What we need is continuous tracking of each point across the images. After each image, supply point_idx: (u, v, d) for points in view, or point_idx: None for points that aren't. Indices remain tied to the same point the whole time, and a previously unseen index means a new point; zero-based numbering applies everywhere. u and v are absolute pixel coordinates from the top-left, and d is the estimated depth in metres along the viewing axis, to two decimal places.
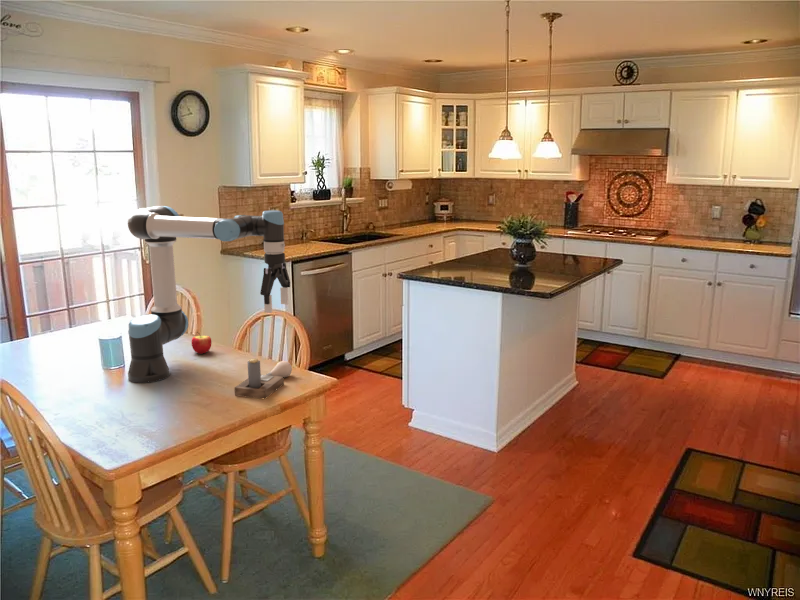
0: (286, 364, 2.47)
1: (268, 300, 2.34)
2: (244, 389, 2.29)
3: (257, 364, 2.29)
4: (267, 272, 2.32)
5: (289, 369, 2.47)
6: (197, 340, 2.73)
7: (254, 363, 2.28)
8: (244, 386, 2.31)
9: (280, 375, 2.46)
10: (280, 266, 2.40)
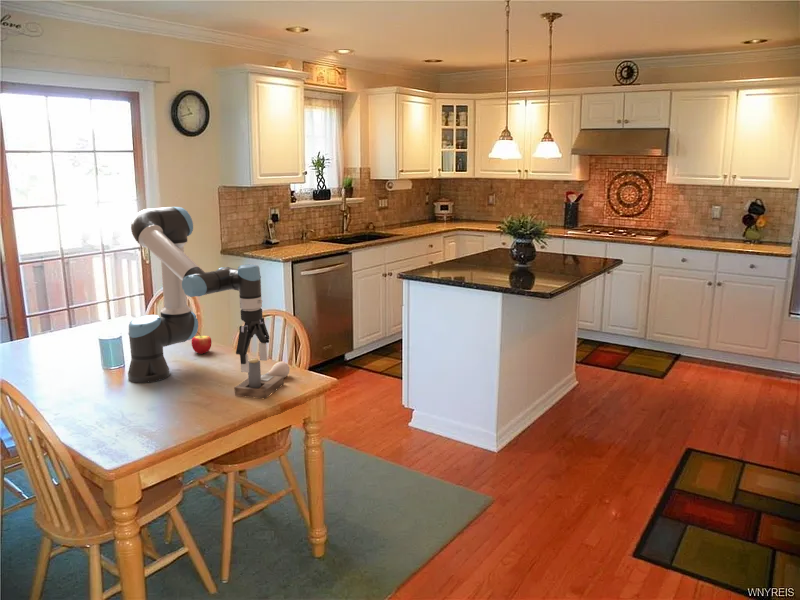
0: (284, 365, 2.47)
1: (244, 360, 2.22)
2: (244, 389, 2.29)
3: (257, 364, 2.29)
4: (243, 330, 2.20)
5: (287, 370, 2.47)
6: (197, 340, 2.73)
7: (254, 363, 2.28)
8: (244, 386, 2.31)
9: None
10: (258, 322, 2.29)
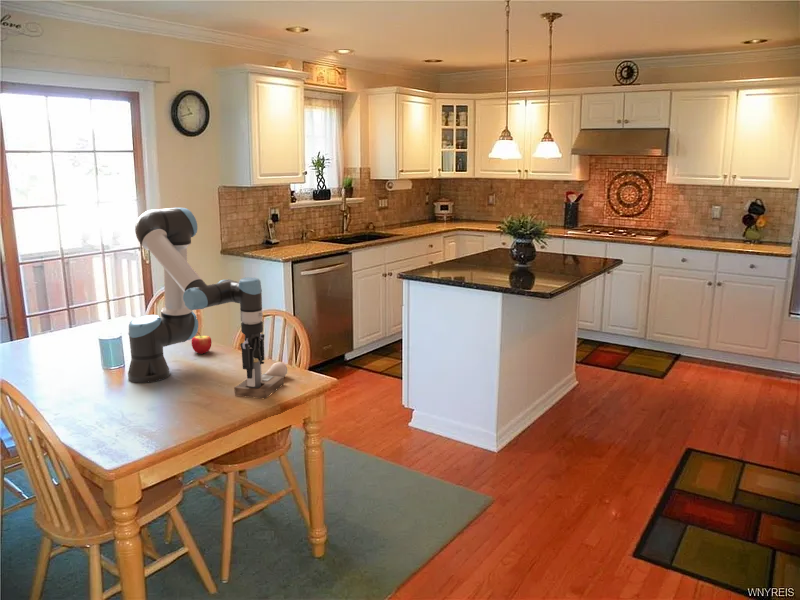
0: (281, 365, 2.46)
1: (251, 374, 2.28)
2: (244, 389, 2.29)
3: (257, 364, 2.29)
4: (245, 348, 2.23)
5: (284, 370, 2.46)
6: (197, 340, 2.73)
7: (254, 363, 2.28)
8: (244, 386, 2.31)
9: None
10: (258, 335, 2.30)
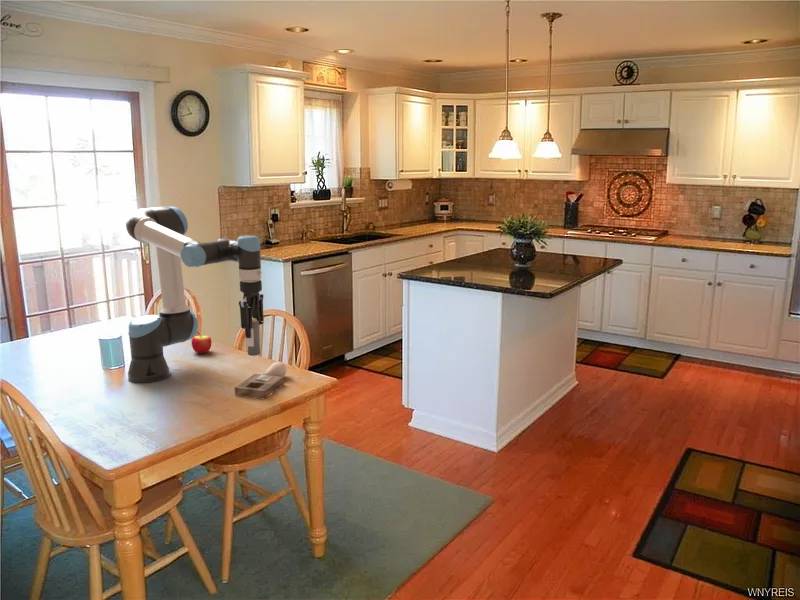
0: (280, 365, 2.46)
1: (249, 334, 2.25)
2: (244, 389, 2.29)
3: (256, 323, 2.26)
4: (243, 306, 2.20)
5: (283, 370, 2.46)
6: (197, 340, 2.73)
7: (253, 322, 2.25)
8: (244, 386, 2.31)
9: None
10: (257, 294, 2.27)
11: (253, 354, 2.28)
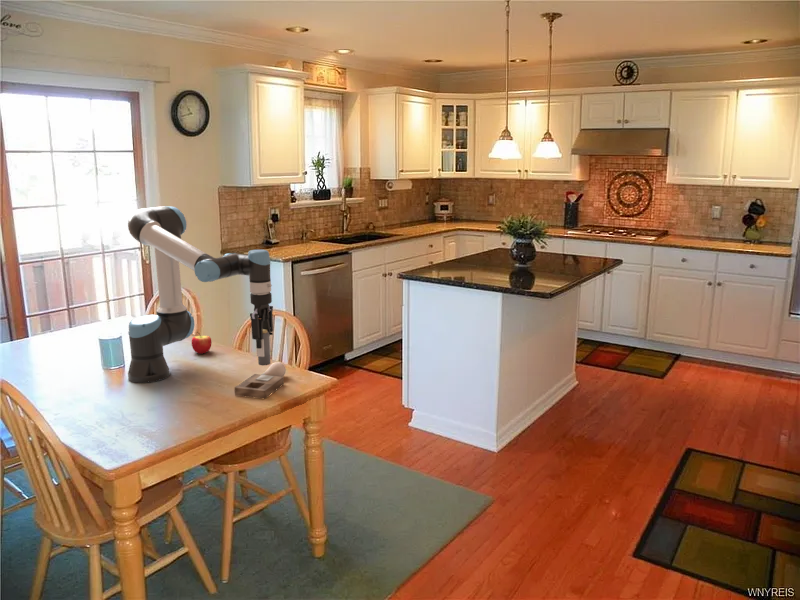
0: (280, 365, 2.46)
1: (260, 344, 2.32)
2: (244, 389, 2.29)
3: (266, 334, 2.34)
4: (254, 318, 2.28)
5: (283, 370, 2.46)
6: (197, 340, 2.73)
7: (263, 333, 2.33)
8: (244, 386, 2.31)
9: None
10: (267, 306, 2.35)
11: (264, 364, 2.36)
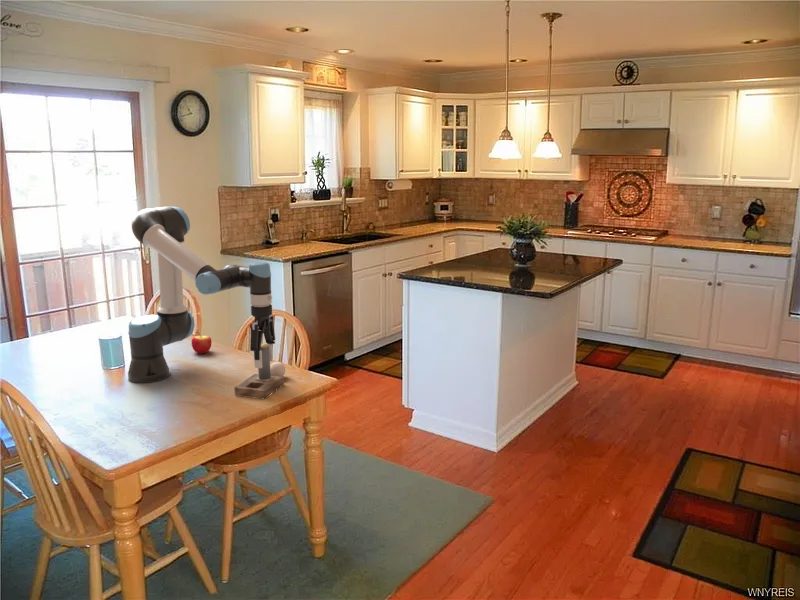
0: (279, 365, 2.46)
1: (258, 356, 2.32)
2: (244, 389, 2.29)
3: (266, 349, 2.35)
4: (254, 328, 2.28)
5: (282, 370, 2.46)
6: (197, 340, 2.73)
7: (263, 348, 2.35)
8: (244, 386, 2.31)
9: None
10: (267, 318, 2.36)
11: (264, 378, 2.37)
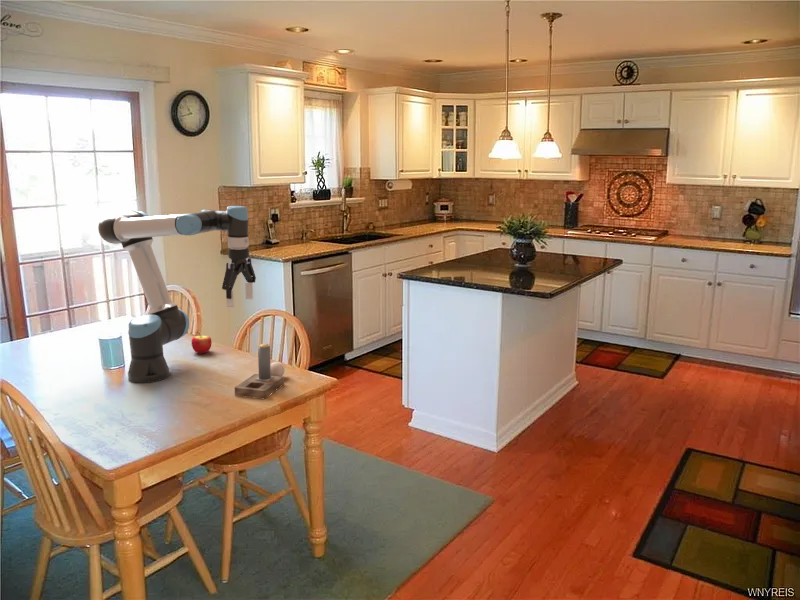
0: (278, 365, 2.46)
1: (230, 295, 2.36)
2: (244, 389, 2.29)
3: (267, 349, 2.35)
4: (229, 267, 2.34)
5: (281, 370, 2.46)
6: (197, 340, 2.73)
7: (264, 348, 2.35)
8: (244, 386, 2.31)
9: None
10: (244, 261, 2.42)
11: (264, 378, 2.37)
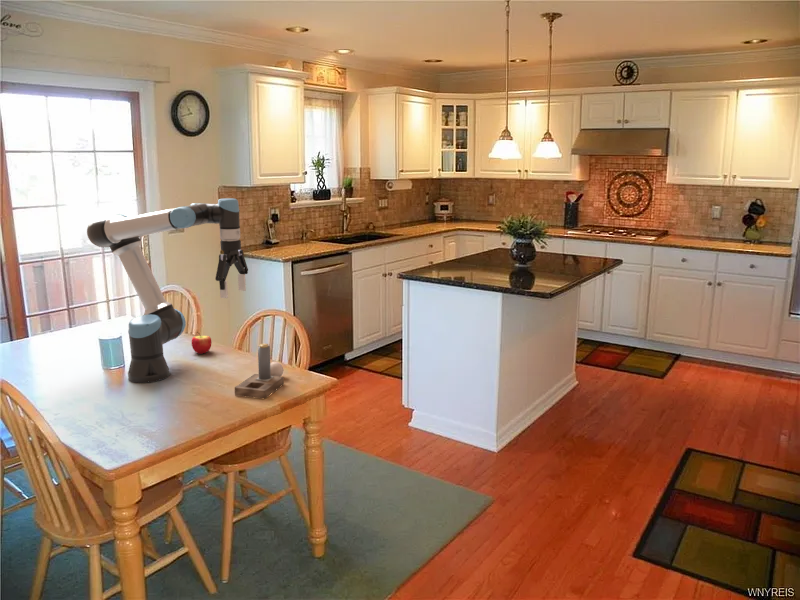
0: (277, 365, 2.46)
1: (223, 286, 2.40)
2: (244, 389, 2.29)
3: (267, 349, 2.35)
4: (222, 258, 2.38)
5: (280, 370, 2.46)
6: (197, 340, 2.73)
7: (264, 348, 2.35)
8: (244, 386, 2.31)
9: None
10: (236, 253, 2.46)
11: (264, 378, 2.37)
